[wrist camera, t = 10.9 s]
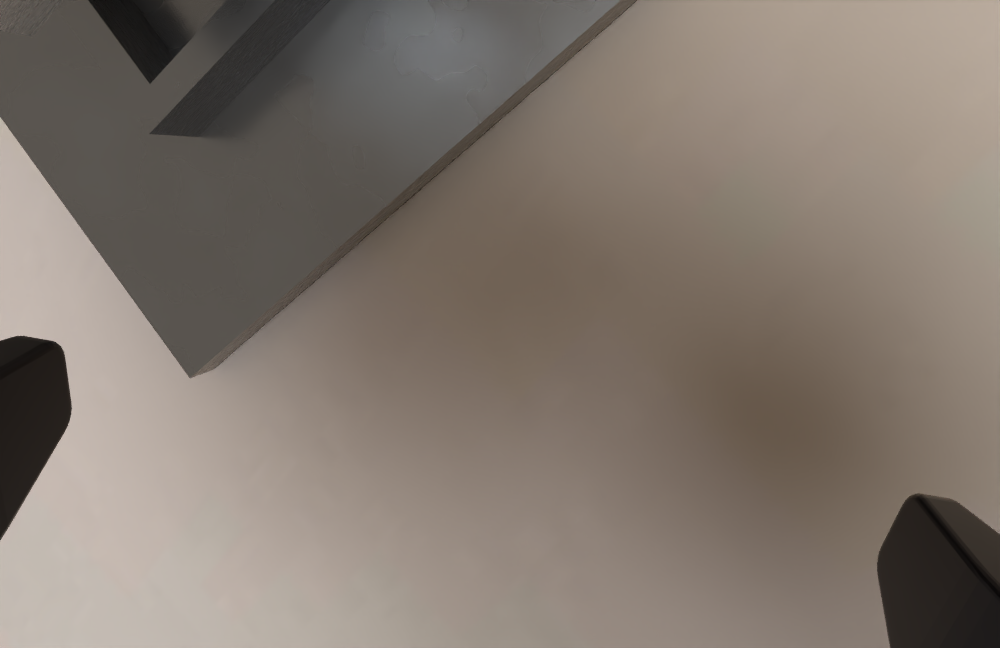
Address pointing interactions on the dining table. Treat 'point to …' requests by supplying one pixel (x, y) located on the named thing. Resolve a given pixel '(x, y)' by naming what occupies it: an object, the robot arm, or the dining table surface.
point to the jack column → (25, 15)
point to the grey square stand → (262, 132)
